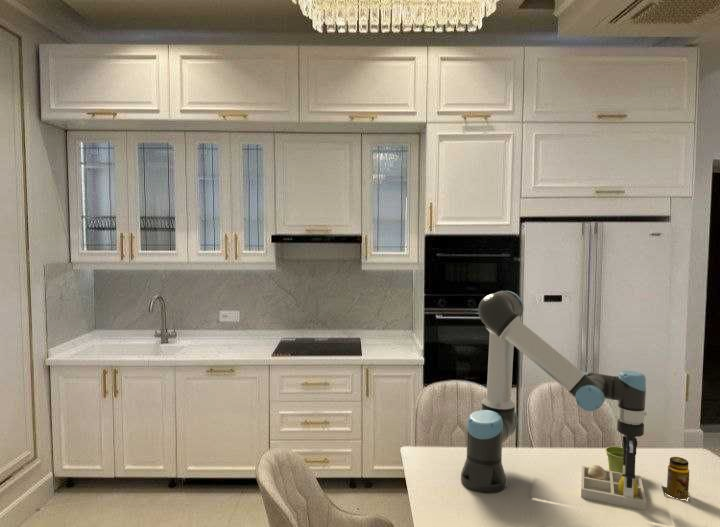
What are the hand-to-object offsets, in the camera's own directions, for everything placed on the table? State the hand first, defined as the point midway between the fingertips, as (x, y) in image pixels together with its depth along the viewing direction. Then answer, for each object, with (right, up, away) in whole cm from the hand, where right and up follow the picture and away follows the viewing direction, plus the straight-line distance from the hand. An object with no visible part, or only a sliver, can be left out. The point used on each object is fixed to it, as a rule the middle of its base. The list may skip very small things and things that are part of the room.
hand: (627, 491), depth 166 cm
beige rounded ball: (-5, -2, +12) cm, 13 cm away
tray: (-2, -3, +6) cm, 7 cm away
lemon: (0, -3, 0) cm, 3 cm away
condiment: (+18, -4, +6) cm, 20 cm away
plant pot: (+7, -3, +19) cm, 20 cm away
